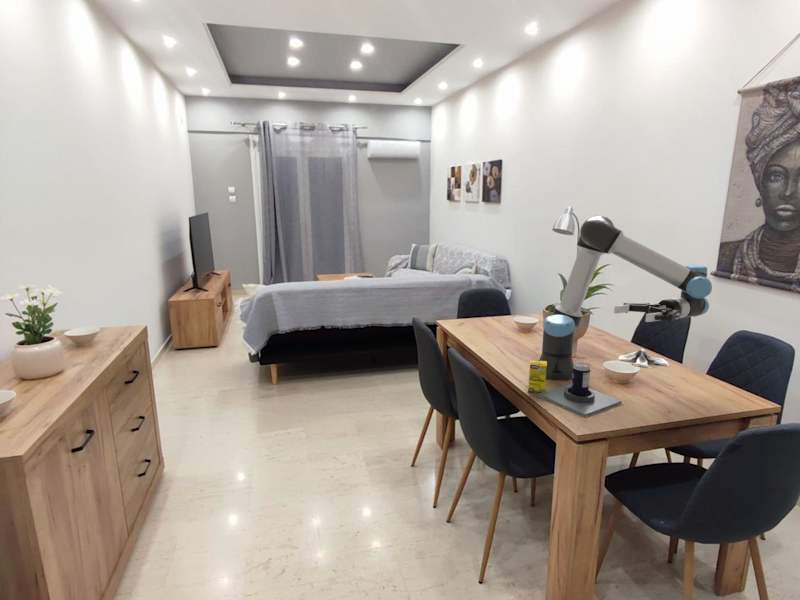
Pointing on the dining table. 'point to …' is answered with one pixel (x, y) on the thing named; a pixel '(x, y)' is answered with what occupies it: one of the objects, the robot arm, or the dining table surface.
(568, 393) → the ring socket
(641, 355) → the cloth
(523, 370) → the dining table surface
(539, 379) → the supplement box
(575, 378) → the beverage can
